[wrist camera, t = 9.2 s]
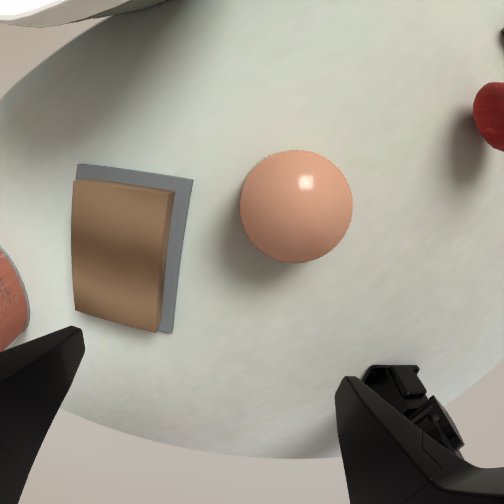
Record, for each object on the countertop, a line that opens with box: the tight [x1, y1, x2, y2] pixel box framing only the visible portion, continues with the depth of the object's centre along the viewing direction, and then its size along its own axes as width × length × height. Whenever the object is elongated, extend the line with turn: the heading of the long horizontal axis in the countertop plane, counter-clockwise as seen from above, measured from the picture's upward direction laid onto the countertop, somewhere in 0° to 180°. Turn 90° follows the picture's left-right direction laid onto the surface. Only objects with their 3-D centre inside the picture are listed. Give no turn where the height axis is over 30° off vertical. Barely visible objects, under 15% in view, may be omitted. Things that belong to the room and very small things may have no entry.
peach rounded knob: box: [240, 150, 353, 263], centre depth 17 cm, size 6×6×4 cm
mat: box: [76, 164, 193, 333], centre depth 19 cm, size 12×9×1 cm
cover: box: [71, 178, 175, 333], centre depth 18 cm, size 10×7×2 cm
